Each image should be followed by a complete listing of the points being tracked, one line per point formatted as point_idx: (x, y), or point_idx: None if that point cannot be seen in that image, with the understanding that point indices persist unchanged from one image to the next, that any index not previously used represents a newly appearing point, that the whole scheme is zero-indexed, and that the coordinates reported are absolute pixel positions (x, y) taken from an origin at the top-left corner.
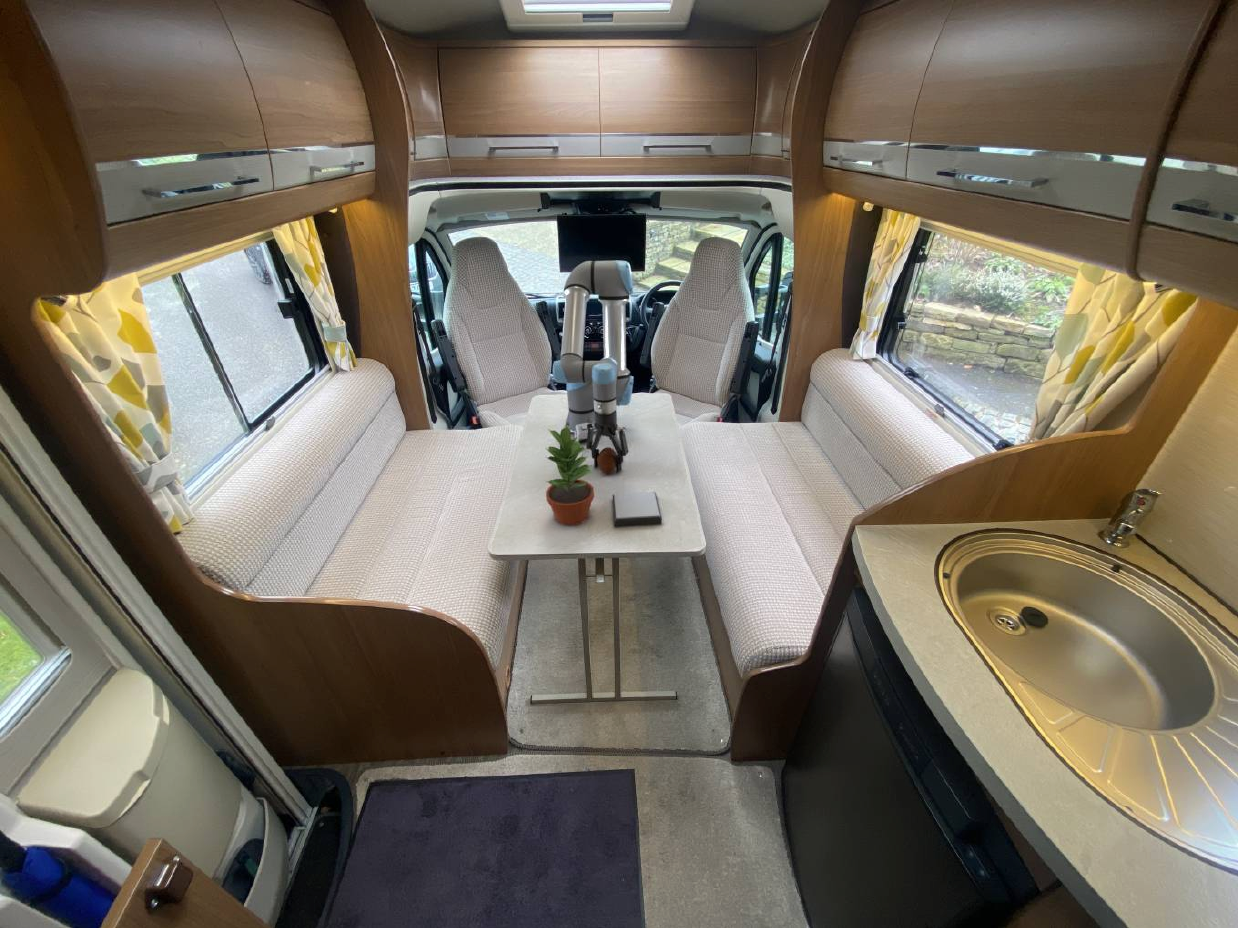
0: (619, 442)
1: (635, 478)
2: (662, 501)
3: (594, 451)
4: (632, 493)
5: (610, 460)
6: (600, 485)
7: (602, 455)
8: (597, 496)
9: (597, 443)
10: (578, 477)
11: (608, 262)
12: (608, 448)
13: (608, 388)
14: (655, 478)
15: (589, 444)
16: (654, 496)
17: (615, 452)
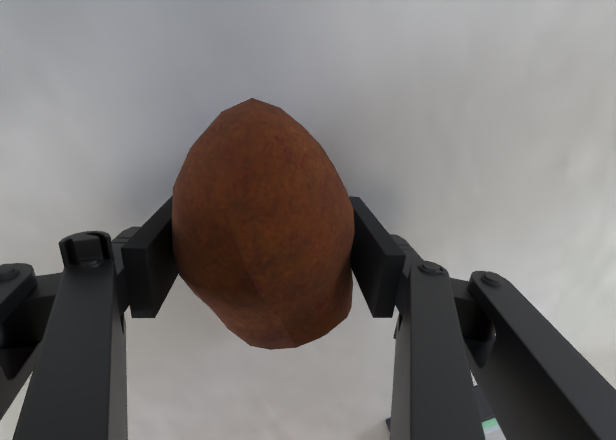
0: (466, 354)
1: (454, 248)
2: None
3: (132, 304)
4: (487, 438)
5: (329, 331)
6: (295, 355)
7: (247, 336)
8: (315, 418)
9: (121, 365)
10: None
11: None
12: (269, 269)
13: None
14: (562, 215)
15: (22, 383)
16: None
17: (334, 218)
